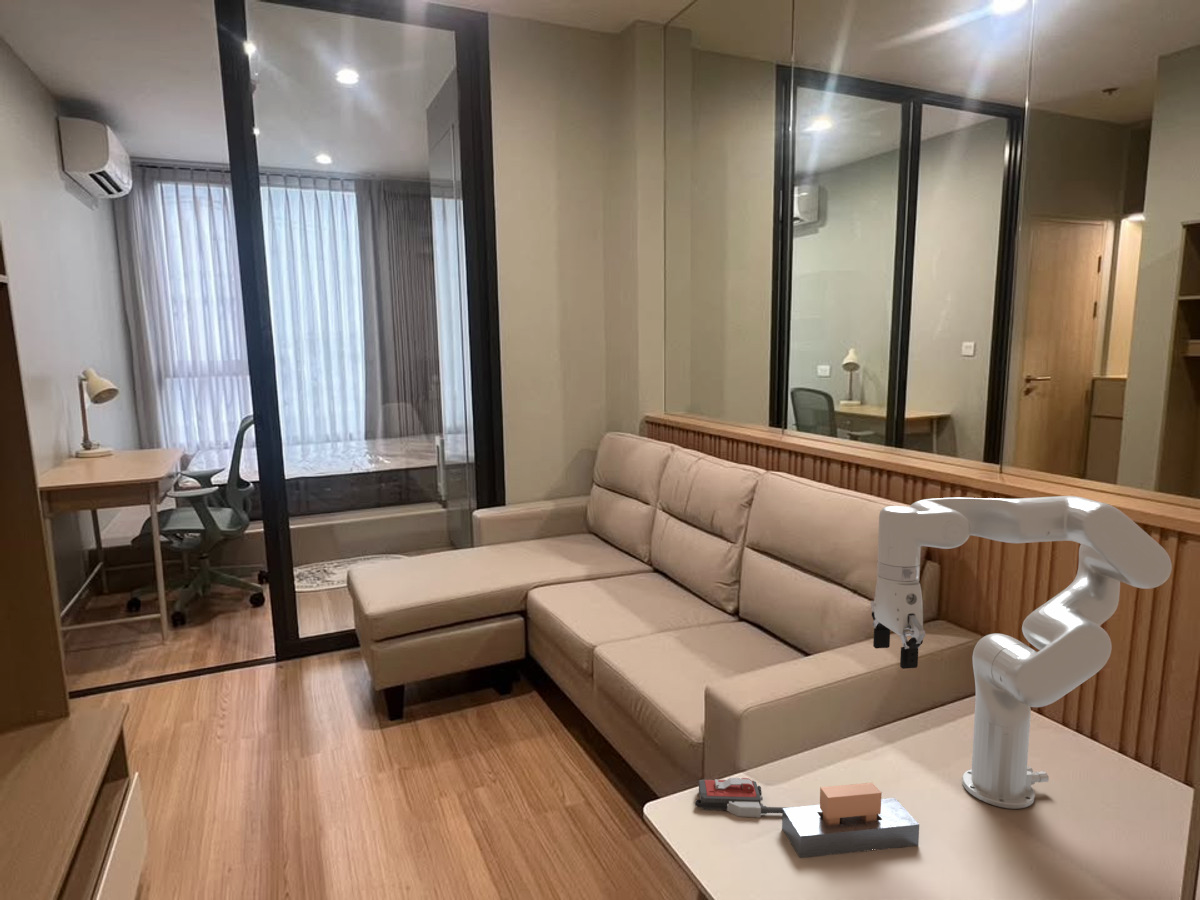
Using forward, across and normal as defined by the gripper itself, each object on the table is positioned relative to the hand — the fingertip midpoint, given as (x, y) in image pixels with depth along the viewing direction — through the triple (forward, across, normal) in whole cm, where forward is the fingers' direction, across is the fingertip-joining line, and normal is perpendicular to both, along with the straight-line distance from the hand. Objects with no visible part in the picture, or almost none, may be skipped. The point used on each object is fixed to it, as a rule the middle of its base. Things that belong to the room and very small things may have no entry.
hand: (894, 657), depth 138 cm
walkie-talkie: (+29, +1, +29) cm, 41 cm away
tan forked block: (+28, -11, +14) cm, 33 cm away
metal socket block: (+28, -11, +14) cm, 33 cm away
